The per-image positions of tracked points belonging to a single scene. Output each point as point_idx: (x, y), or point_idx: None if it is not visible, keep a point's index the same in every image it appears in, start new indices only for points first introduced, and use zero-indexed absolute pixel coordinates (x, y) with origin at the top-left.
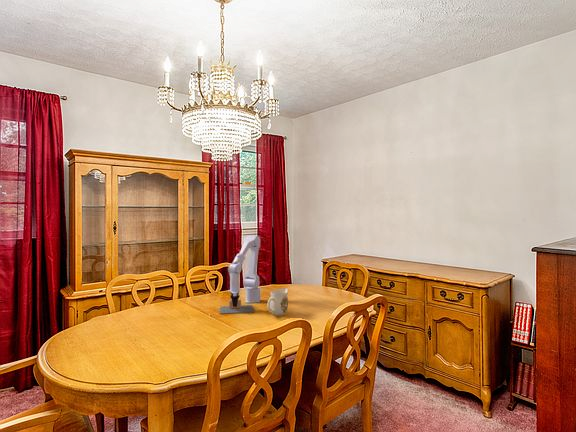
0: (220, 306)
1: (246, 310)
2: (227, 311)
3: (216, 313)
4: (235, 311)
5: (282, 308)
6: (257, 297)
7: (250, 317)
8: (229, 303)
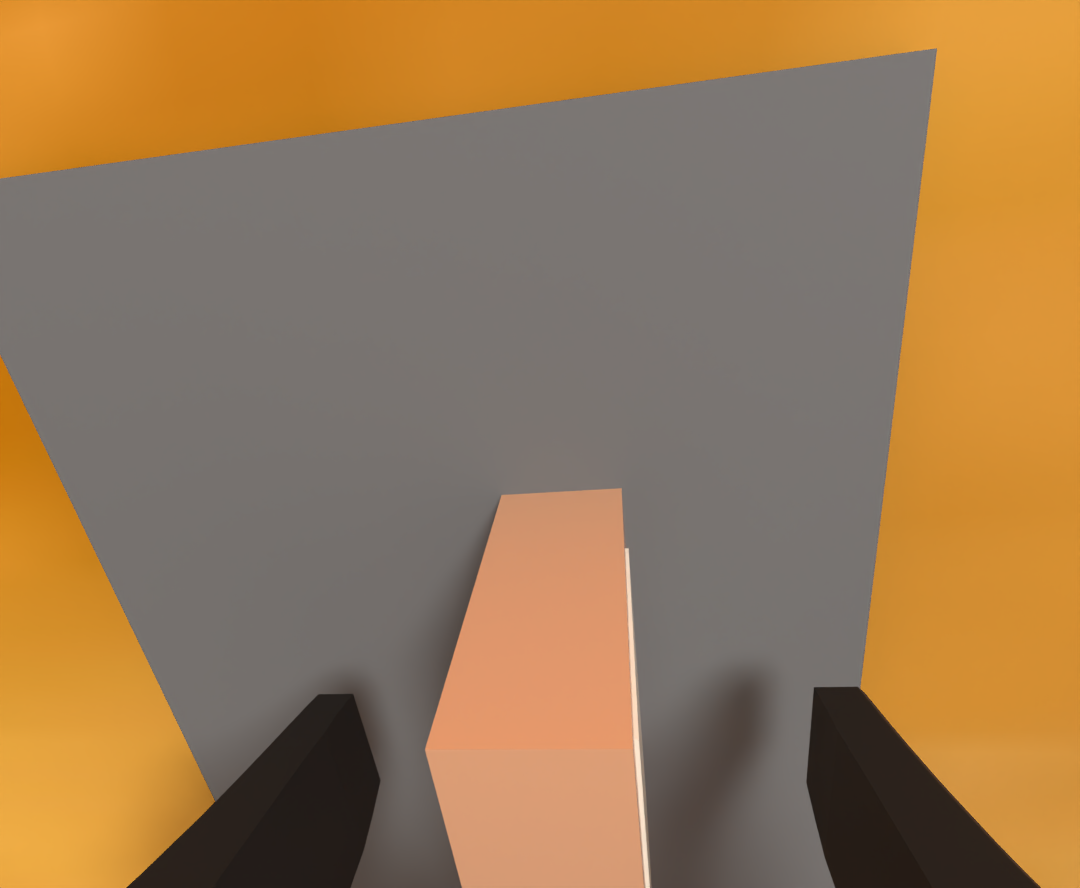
0: (913, 53)
1: (358, 870)
2: (192, 454)
3: (14, 27)
4: (237, 665)
5: None
6: None
7: (3, 879)
8: (465, 628)
